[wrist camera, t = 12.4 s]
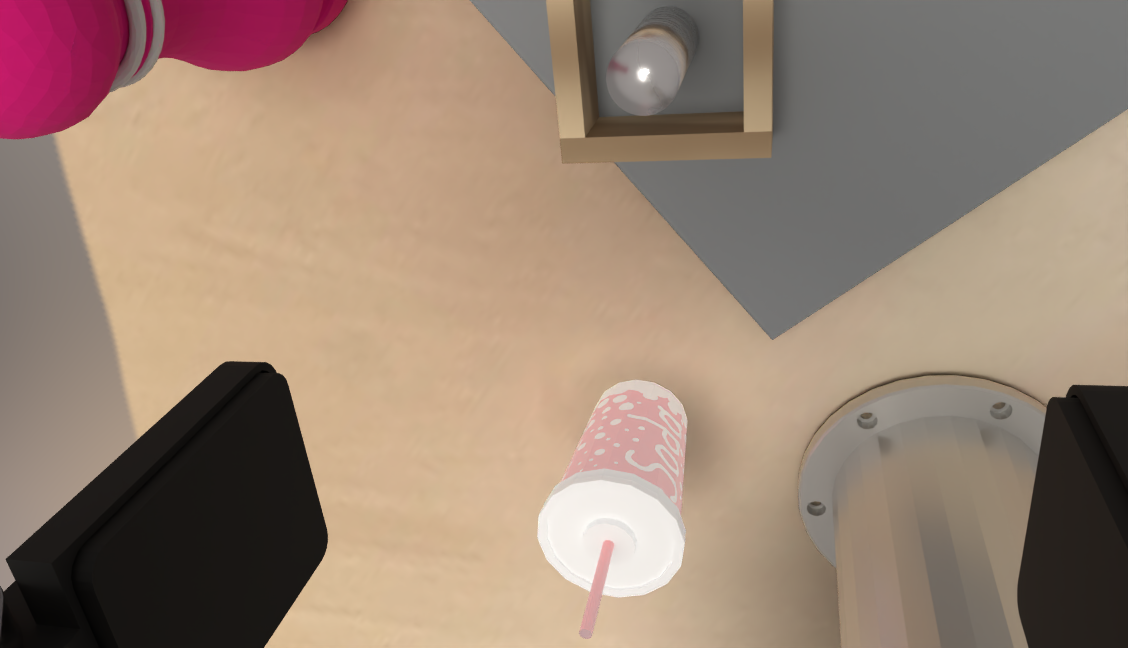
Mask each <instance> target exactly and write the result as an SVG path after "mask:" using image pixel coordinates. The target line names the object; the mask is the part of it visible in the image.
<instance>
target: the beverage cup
mask: <svg viewBox="0 0 1128 648" xmlns="http://www.w3.org/2000/svg"><path fill="white" fill-rule="evenodd" d="M686 434H687V417H686V414H685V411H684V408H683V405H682V403H681V402H680V401H679V400H678V399H677V398H676V397H675V396H674V394H673V393H672V392H671V391H669V390H667V389H666V388H664V387H662V386H660V385H658V384H656V383H654V382H648V381H642V380H631V381H625V382H620V383H617V384H616V385H614V386H613V387H611V388H609V389H608V390H606V391H605V392H604V393H603V395H602V397H601V398H600V400H599V401H598V403H597V405H596V407H595V409H594V411H593V413H592V415H591V417H590V420H589V422H588V424H587V426H586V428H585V430H584V432H583V435H582V437H581V439H580V441H579V443H578V445H577V447H576V450H575V452H574V454H573V456H572V458H571V460H570V463H569V465H568V467H567V469H566V471H565V473H564V475H563V478H562V480H561V482H560V483H559V484H557V485H556V486H555V487H554V489H553V490H552V492H551V493H550V495H549V497H548V498H547V500H546V501H545V503H544V506H543V508H542V510H541V511H540V514H539V519H538V537H537V538H538V540H539V543H540V545H541V547H542V550H543V552H544V554H545V557H546V559H547V561H548V562H549V563H550V564H551V565H552V566H553V567H554V568H555V569H556V570H557V571H558V572H559V573H560V574H561V575H562V576H563V577H564V578H565V579H567V580H569V581H570V582H572V583H574V584H576V585H578V586H580V587H582V588H584V589H586V590H587V591H589V592H590V594H589V597H588V601H587V605H586V609H585V612H584V616H583V620H582V624H581V627H580V631H579V634H580V636H581V637H582V638H585V639H589V638H591V637H592V633H593V629H594V625H595V621H596V617H597V613H598V609H599V605H600V601H601V597H602V594H603V595H608V596H613V597H628V596H638V595H645V594H647V593H649V592H651V591H653V590H656V589H658V588H660V587H662V586H664V585H666V584H667V583H668V582H669V581H670V579H671V578H672V577H673V576H674V574H675V573H676V572H677V571H678V569H679V568H680V567H681V564H682V558H683V551H684V545H685V533H686V530H685V527H684V524H683V521H682V518H681V508H682V493H683V478H684V464H685V449H686Z"/></svg>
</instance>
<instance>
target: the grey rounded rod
mask: <svg viewBox="0 0 1128 648" xmlns="http://www.w3.org/2000/svg"><path fill="white" fill-rule="evenodd" d="M698 41H699V34H698V29H697V26H696V23H695V21H694V20H693V18H692V17H691V16H690V15H689V14H688V13H687V12H686V11H684V10H682V9H680V8H677V7H673V6H664V7H659V8H657V9H654V10H653V11H651V12H650V13H649V14H647V15H646V17H645V18H644V19H643V20H642V21H641V23H640V24H639V25H638V26H637V27H636V29H635V30H634V31H633V32H632V34H631V35H630V36H629V37H628V38H627V40H626V41H625V42H624V43H623V45H622V46H621V47H620V48H619V50H618V51H617V52H616V53H615V54H614V56H613V57H612V59H611V61H610V63H609V65H608V68H607V73H606V83H607V88H608V91H609V94H610V96H611V97H612V99H613V101H614V102H615V103H616V104H617V105H618V106H619V107H620V108H621V109H623V110H624V111H626V112H628V113H630V114H634V115H639V116H648V115H653V114H656V113H658V112H660V111H662V110H664V109H665V108H666V107H667V106H668V105H669V104H670V103H671V102H672V101H673V99H674V98H675V96H676V94H677V92H678V89H679V87H680V85H681V83H682V80H683V78H684V76H685V74H686V72H687V69H688V67H689V65H690V63H691V60H692V58H693V56H694V54H695V51H696V49H697V46H698Z"/></svg>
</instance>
